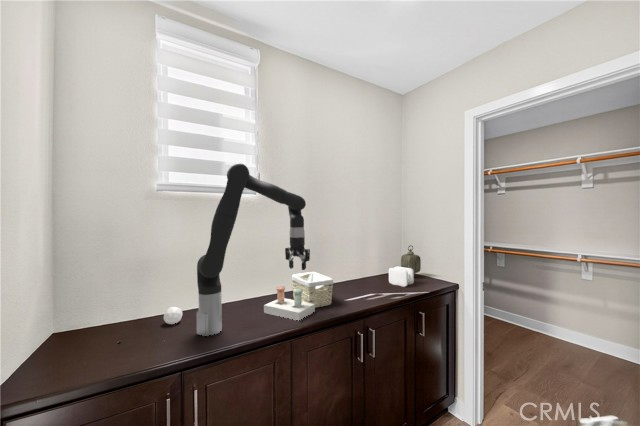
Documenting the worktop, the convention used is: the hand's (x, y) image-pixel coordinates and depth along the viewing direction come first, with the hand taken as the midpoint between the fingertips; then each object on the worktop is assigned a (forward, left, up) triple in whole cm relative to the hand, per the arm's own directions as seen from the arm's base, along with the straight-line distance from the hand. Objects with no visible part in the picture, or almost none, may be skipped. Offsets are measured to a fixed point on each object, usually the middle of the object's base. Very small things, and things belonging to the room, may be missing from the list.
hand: (297, 269), depth 135 cm
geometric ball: (-38, +44, -23) cm, 63 cm away
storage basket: (+20, +4, -23) cm, 31 cm away
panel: (0, +5, -23) cm, 23 cm away
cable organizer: (+82, -31, -23) cm, 90 cm away
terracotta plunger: (0, +11, -18) cm, 21 cm away
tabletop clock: (+106, -33, -23) cm, 113 cm away
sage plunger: (0, 0, -18) cm, 18 cm away
